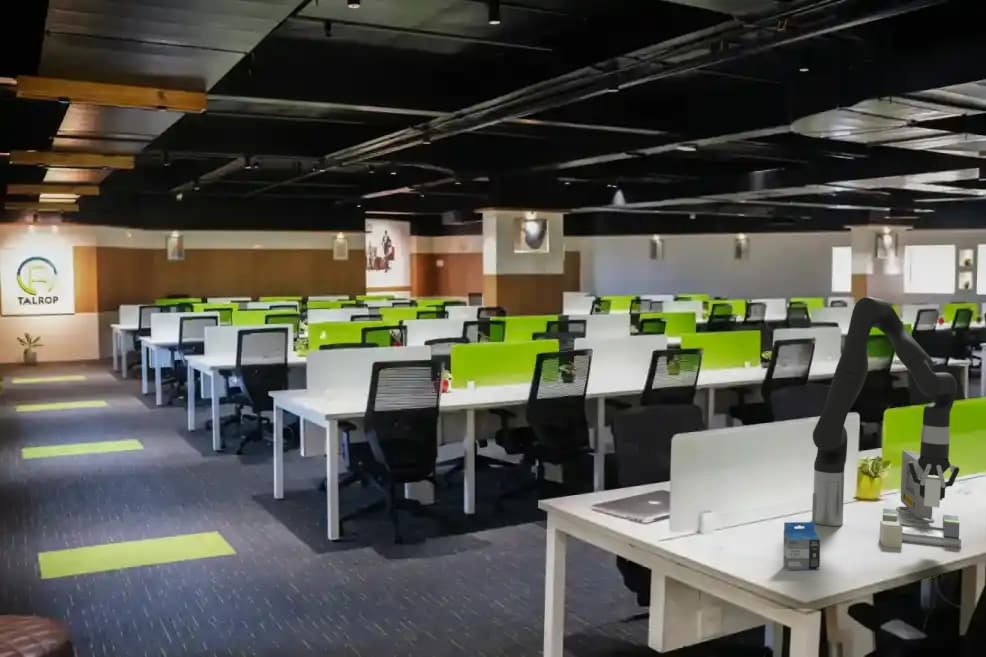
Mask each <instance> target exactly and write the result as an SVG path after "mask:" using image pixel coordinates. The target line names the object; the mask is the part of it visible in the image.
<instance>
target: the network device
mask: <svg viewBox="0 0 986 657" xmlns="http://www.w3.org/2000/svg"><path fill="white" fill-rule="evenodd" d="M919 458H920V453H918V452H917V451H916V450H902V452H901V474H900V475H901V477H900V480H901V481H900V502H901V503H902V504H903V505H904V506H896V507H895V510H897V513H899V514H900V515H901V516H902V518H904V520H906V521H908V522H912V521H914V522H913V523H924V522H929V524H930V522H932V523H935V518H934V517H933V507H929V506H924V498H922V496H920V485H919V484H918V483H915V482H914V481H913V477H912V474H911V471H910V468H909V462H910V461H911V462H915V461H918V459H919ZM915 471H916V474H917V477H918V478H919V479H921V478H922V474H923V472H924V471H923V470H922V468H921V467H920V466H919V465H917V469H915ZM931 476H934V475H931ZM903 510H909V511H903ZM910 517H917V518H918V519H917V518H910ZM929 519H930V520H929Z"/></svg>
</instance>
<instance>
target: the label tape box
mask: <svg viewBox="0 0 986 657" xmlns="http://www.w3.org/2000/svg"><path fill="white" fill-rule="evenodd" d="M783 524H784V525H783V526H784V528H783V557H782V558H783V559H782V560H783V562H782V563H783V565H782V566H783V567H784V568H785V569H786V570H787V571H801V570H802V571H804V570H806V571H807V570H808V571H809V570H810V571H812V570H813V571H814V570H817V571H818V570H819V571H820V566H821V565H820V564H821V562H820V561H821V558H820V556H821V555H820V554H821V553H820V552H821V539H820V538H819V536H818V534H817V532H816V531H815V530H816V523H815V522H812V521H810V522H805V521H803V522H798V521H797V522H791V521H789V522H784V523H783ZM799 526H800V527H804V528H796V527H799Z"/></svg>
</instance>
